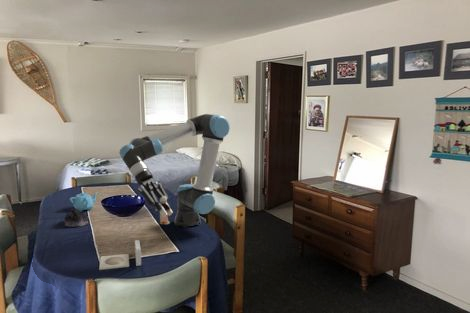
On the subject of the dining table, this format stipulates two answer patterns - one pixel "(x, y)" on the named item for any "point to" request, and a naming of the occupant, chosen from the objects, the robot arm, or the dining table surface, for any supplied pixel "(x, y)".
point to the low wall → (137, 252)
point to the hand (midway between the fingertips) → (168, 215)
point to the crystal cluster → (75, 218)
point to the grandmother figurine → (166, 207)
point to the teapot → (83, 201)
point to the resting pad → (114, 261)
